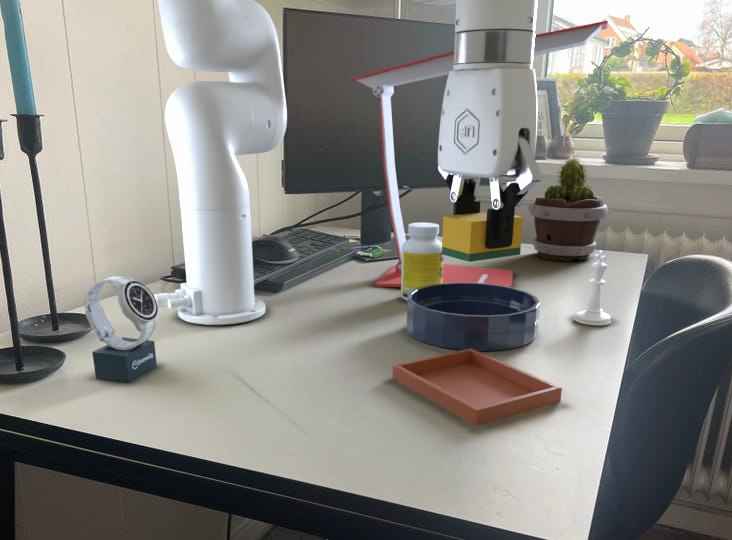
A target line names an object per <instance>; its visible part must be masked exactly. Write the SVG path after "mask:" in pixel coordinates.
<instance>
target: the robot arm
mask: <svg viewBox="0 0 732 540" xmlns="http://www.w3.org/2000/svg"><path fill="white" fill-rule="evenodd" d="M412 1H414V2H416V3H421V4H425V5H431V6H437V7H438V6H439V7H443V6H444V7H445V6H451V5H455V22H454V23H455V24H454V45H453V46H454V47H453V51H454V67H453V71H450V72H449V74H448V75H447V80H446V84H445V88H444V93H443V99H442V106H441V107H442V108H441V112H440V123H439V131H438V142H437V143H438V144H437V145H438V146H437V165H438V166H437V169H438V172H439V173H440V175H441V176H442V177H443V179H444V180H445V183H446V186H447V187H448V190H449V191H450V194H449V199H450V201H451V202H452V203H453V209H452V211H453V212H452V215H463V214H473V213H481V201H480V200H476V199H477V198H478V194H479V189H480V184H481V179H483V178H484V179H489V188H490V197H491V206H492V207H491V208H487V211H486V212H487V219H486V221H487V224H486V240H485V246H486V248H488V249H496V248H504V247H510V246H511V245H512V240H513V227H514V215H516V212H515V211H516V210H515V209H517V208H519V207H520V206H521V202H522V200H523V198H524V197H525V196H526V195H527V194H528V192H529V191H530V190H531V189H533V188H534V187H535V186H536V185H537V184H539V183H540V182H541V181H542V177H543V176H542V172H541V170H540V168H539V165H538V163H537V161H536V158H535V157H536V151H537V150H536V149H537V138H538V137H537V136H538V91H537V80H536V79H537V78H536V69H534V68H533V61H534V56H533V50H534V37H535V35H536V33H535V32H536V24H537V22H536V21H537V13H538V10H537V9H538V0H412ZM157 4H158V10H159V11H158V12H159V16H160V23H161V28H162V33H163V34H162V35H163V39H164V43H165V48H166V51H167V54H168V55H169V57H170V59H171V60H172V61H173V62H174V64H175V65H176V66H178V67H180V68H182V69H185V70H191V71H195V72H196V71H197V72H210V73H211V72H212V73H227V74H228V78H229V81H224V80H223V81H222V80H221V81H219V80H198V81H197V80H196V81H191V82H187V83H185V84H182V85H180V86H178V87H177V88H176V89H175V90H174V91H173V92H172V93H171V94H170V96H169V97H168V99H167V101H166V104H165V110H164V121H165V127H166V132H167V137H168V139H169V143H170V147H171V150H172V154H173V158H174V163H175V164H174V165H175V170H176V176H177V177H176V178H177V185H178V196H179V206H180V217H181V227H182V229H181V230H182V241H183V242H182V243H183V254H184V265H185V278H186V282H181V283H180V288H178V289H175V291H174V292H162V293H155V294H154V293H153V295H154V297H155V299H156V301H157V304H158V309H159V308H165V307H168V309H170V310H172V309H177V315H178V318H179V319H181V320H183V321H184V322H187V323H191V324H195V325H205V326H225V325H226V326H227V325H237V324H241V323H247V322H250V321H254V320H256V319H259V318H260V317H262V316H264V315H265V314H266V309H267V308H266V303H265V302H264V301H263V300H261V299H259V298H257V297H255V282H254V281H255V280H254V278H255V277H254V260H253V259H254V258H253V256H254V255H253V238H252V237H253V236H252V217H251V202H250V200H251V199H250V189H249V185H248V181H247V178H246V175H245V173H244V171H243V170H242V167H241V165H240V164H239V161H238V159H237V157H236V156H244V155H255V154H256V155H257V154H264V153H269V152H271V151H272V150H275V148H277V147H278V146H279V145H280V144H281V143H282V141H283V139H284V137H285V134H286V131H287V125H288V109H287V99H286V91H285V83H284V76H283V66H282V58H281V51H280V42H279V38H278V33H277V30H276V29H277V28H276V27H275V26H276V25H275V24H274V22H273V19H272V17H271V16H270V14H269V12H268V11H267V10H266V8H264V7H263V6H262V5H261V4H260V3H259V2H256V1H255V0H157ZM467 180H468V181H467ZM503 183H505V184H506V187H505V189H504V187H503V186H504V185H503Z"/></svg>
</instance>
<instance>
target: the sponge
mask: <svg viewBox="0 0 732 540" xmlns="http://www.w3.org/2000/svg"><path fill="white" fill-rule="evenodd" d="M486 219H487V211H485V212H480V213H473V214H463V215H453V214H452V215H444V216H442V235H441V237H442V239H441V243H442V254H443V255H444V256H447V257H450V258H454V259H457V260H461V261H465V262H469V263H470V262H471V263H472V262H478V261H486V260H493V259H499V258H507V257H515V256H520V255H521V251H522V249H521V248H522V237H523V225H524V216H521V215H516V214H514V227H513V240H512V245H511V246H510V247H504V248H496V249H488V248H486V246H485V240H486V224H487V221H486Z"/></svg>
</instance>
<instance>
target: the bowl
mask: <svg viewBox="0 0 732 540" xmlns="http://www.w3.org/2000/svg"><path fill="white" fill-rule="evenodd" d="M406 302H407V303H406V304H407V305H406V307H407V308H406V332H407V333H408V334H409V335H410V336H411V337H412V338H413V339H416V340H418V341H420V342H423V343H425V344H427V345H432V346H437V347H440V348H444V349H451V350H457V351H461V350H466V349H470V348H472V349H474V350H477V351H479V352H490V351H491V352H493V351H504V350H505V351H506V350H510V349H515V348H519V347H524V346H526V345H528V344H530V343H532V342H534V341H535V339H536V337H537V335H538V329H539V328H538V327H539V317H540V307H541V302H540V300H539V299H538V297H537V296H536V295H535V294H532V293H530V292H528V291H525V290H523V289H519V288H517V287H512V286H511V287H507V286H501V285H495V284H484V283H462V282H458V283H441V284H434V285H428V286H424V287H420V288H417V289H414V290H413V291H411V292H410V293H409V294H408V301H406Z"/></svg>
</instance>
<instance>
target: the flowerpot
mask: <svg viewBox="0 0 732 540" xmlns="http://www.w3.org/2000/svg"><path fill="white" fill-rule="evenodd" d="M578 156H580V154H578V155H576V156H575V153H573V156H572V157H570V156H568V157H566V158H565V159H566V160H565V161H563V162H562V164H563V165H559V168H558V169H557V170H558V171H557V172H556V173H557V175H558V177H557V180H556V181H552V182H553V183H554V185H549V186H548V187H546V191H545V192H544V194H539V195H538V196H537V197H536V198H535V200H534V201H532V202H530V203H529V206H528V207H527V210H528V211H529V215H530V216H531V217H533V222H534V229H535V235H536V237H535V238H534V239H533V242H532V246H533V248H534V250H535V251H537V255H538V256H539V257H541V258H543V259H547V260H552V261H561V260H562V261H565V262H569V261H572V260H574V259H576V261H584V260H587V259H589V257H590V256H591V254H593V253H594V252H595V251H596V250H597V242H596V241H595V239H596V236H597V233H598V230H599V227H600V224H601V220H604V219H606V218H607V217H608V214H610V210H609V209H608V206H607V204H605V203H604V199H603V197H601V196H596V195H594V192H593V191H594V189H592V188H593V186H592V185H591V186H589V185H588V184H587V182H589V180H588V178H587V176H588V174H589V173H588V172H589V170H588V168H584V167H586V164H585V162H581V161H580V160H581V158H580V157H579V158H578V159H577V157H578ZM560 168H561V169H560ZM559 174H560V175H559Z"/></svg>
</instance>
